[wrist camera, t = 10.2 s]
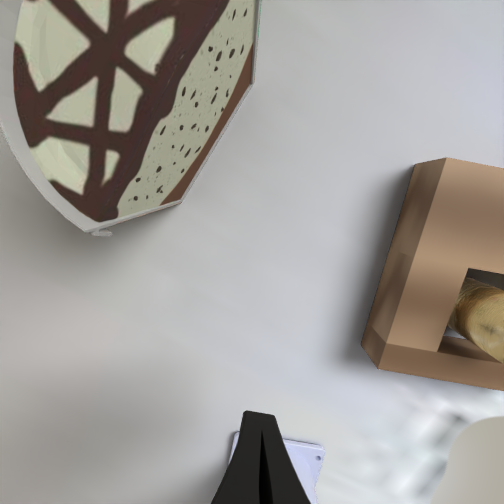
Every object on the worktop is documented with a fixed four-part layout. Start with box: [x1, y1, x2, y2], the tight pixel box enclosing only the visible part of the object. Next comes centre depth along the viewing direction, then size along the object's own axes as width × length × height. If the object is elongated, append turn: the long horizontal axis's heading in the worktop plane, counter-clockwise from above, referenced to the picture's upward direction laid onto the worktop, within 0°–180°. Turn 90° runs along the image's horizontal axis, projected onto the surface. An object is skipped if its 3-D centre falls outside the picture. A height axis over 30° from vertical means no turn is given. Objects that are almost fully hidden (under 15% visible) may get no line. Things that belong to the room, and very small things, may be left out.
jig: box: [361, 158, 504, 391], centre depth 18 cm, size 14×13×3 cm
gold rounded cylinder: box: [447, 277, 504, 364], centre depth 17 cm, size 4×4×5 cm
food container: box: [0, 0, 262, 236], centre depth 13 cm, size 12×6×10 cm, turn 146°
